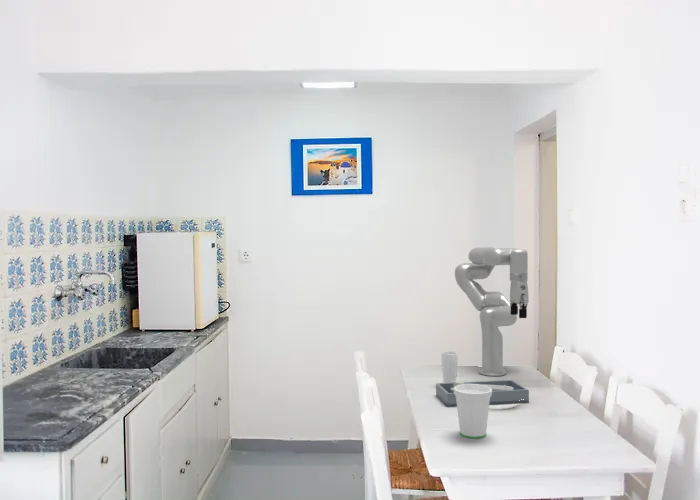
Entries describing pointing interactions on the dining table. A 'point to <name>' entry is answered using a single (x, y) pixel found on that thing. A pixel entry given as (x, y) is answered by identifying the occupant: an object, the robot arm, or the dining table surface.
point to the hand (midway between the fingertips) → (518, 316)
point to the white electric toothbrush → (493, 387)
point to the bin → (496, 397)
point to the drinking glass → (449, 366)
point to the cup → (472, 409)
